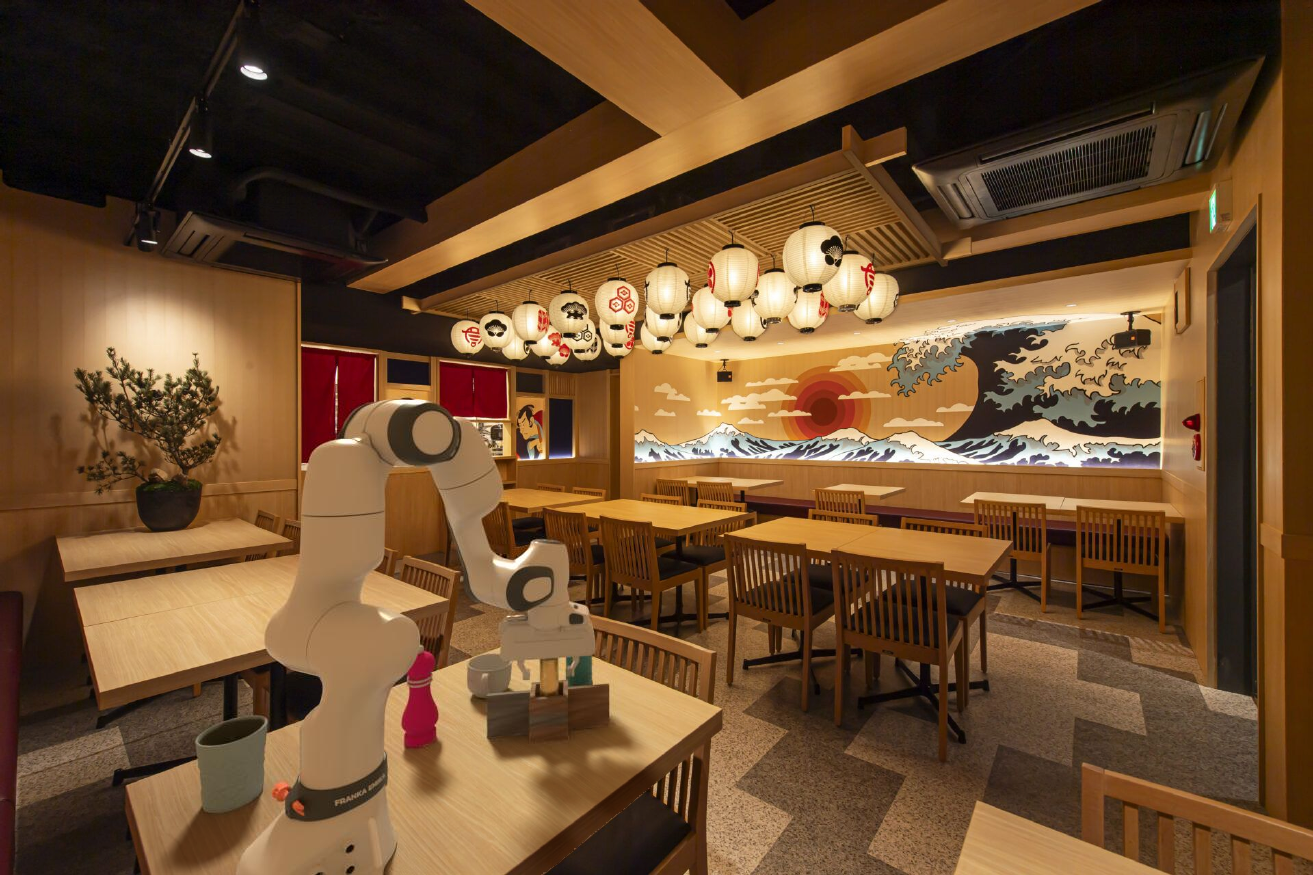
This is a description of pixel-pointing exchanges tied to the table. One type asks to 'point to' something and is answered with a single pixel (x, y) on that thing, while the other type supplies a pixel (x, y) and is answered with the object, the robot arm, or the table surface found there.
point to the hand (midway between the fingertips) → (548, 677)
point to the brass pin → (549, 677)
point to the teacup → (488, 674)
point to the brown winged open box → (547, 712)
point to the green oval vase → (231, 763)
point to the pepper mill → (420, 703)
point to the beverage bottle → (580, 671)
